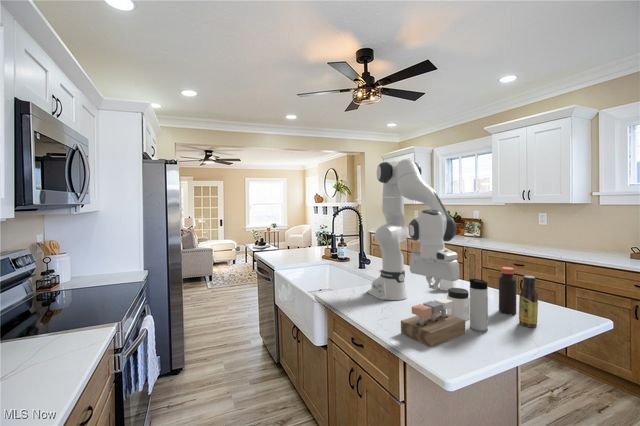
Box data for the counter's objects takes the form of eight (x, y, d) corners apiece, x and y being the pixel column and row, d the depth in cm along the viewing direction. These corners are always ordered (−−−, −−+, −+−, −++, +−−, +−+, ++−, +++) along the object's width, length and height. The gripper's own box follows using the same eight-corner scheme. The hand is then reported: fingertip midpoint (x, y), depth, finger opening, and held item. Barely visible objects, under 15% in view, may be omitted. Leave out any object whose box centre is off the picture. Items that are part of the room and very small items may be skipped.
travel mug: (465, 326, 126) (465, 277, 126) (481, 326, 127) (481, 276, 126) (474, 333, 120) (474, 281, 119) (491, 332, 121) (491, 280, 120)
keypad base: (401, 333, 122) (400, 320, 121) (434, 321, 132) (434, 310, 132) (431, 347, 110) (431, 333, 110) (465, 333, 121) (465, 320, 120)
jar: (460, 323, 130) (460, 294, 130) (443, 317, 137) (443, 290, 137) (473, 318, 135) (473, 290, 135) (455, 312, 142) (455, 286, 142)
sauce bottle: (515, 322, 130) (515, 274, 129) (530, 321, 130) (531, 274, 129) (525, 328, 124) (525, 278, 123) (541, 328, 123) (541, 278, 123)
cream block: (434, 318, 125) (434, 300, 125) (442, 316, 128) (442, 297, 128) (445, 322, 121) (445, 303, 121) (453, 319, 124) (453, 300, 123)
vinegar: (500, 314, 139) (500, 269, 138) (497, 309, 146) (497, 266, 145) (518, 315, 137) (518, 270, 136) (514, 310, 143) (514, 267, 142)
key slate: (423, 322, 122) (423, 303, 121) (431, 319, 124) (431, 300, 124) (434, 326, 118) (434, 306, 117) (442, 323, 120) (442, 304, 120)
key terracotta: (411, 326, 118) (411, 306, 118) (420, 323, 121) (420, 304, 121) (422, 330, 114) (422, 310, 114) (431, 327, 117) (431, 307, 116)
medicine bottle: (443, 287, 184) (442, 266, 184) (456, 288, 180) (456, 267, 179) (439, 290, 178) (439, 268, 178) (453, 291, 174) (452, 270, 174)
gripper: (405, 250, 127) (406, 284, 127) (450, 256, 110) (452, 295, 110) (416, 248, 130) (417, 282, 131) (461, 254, 113) (462, 292, 114)
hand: (433, 288), depth 120 cm, fingers closed
